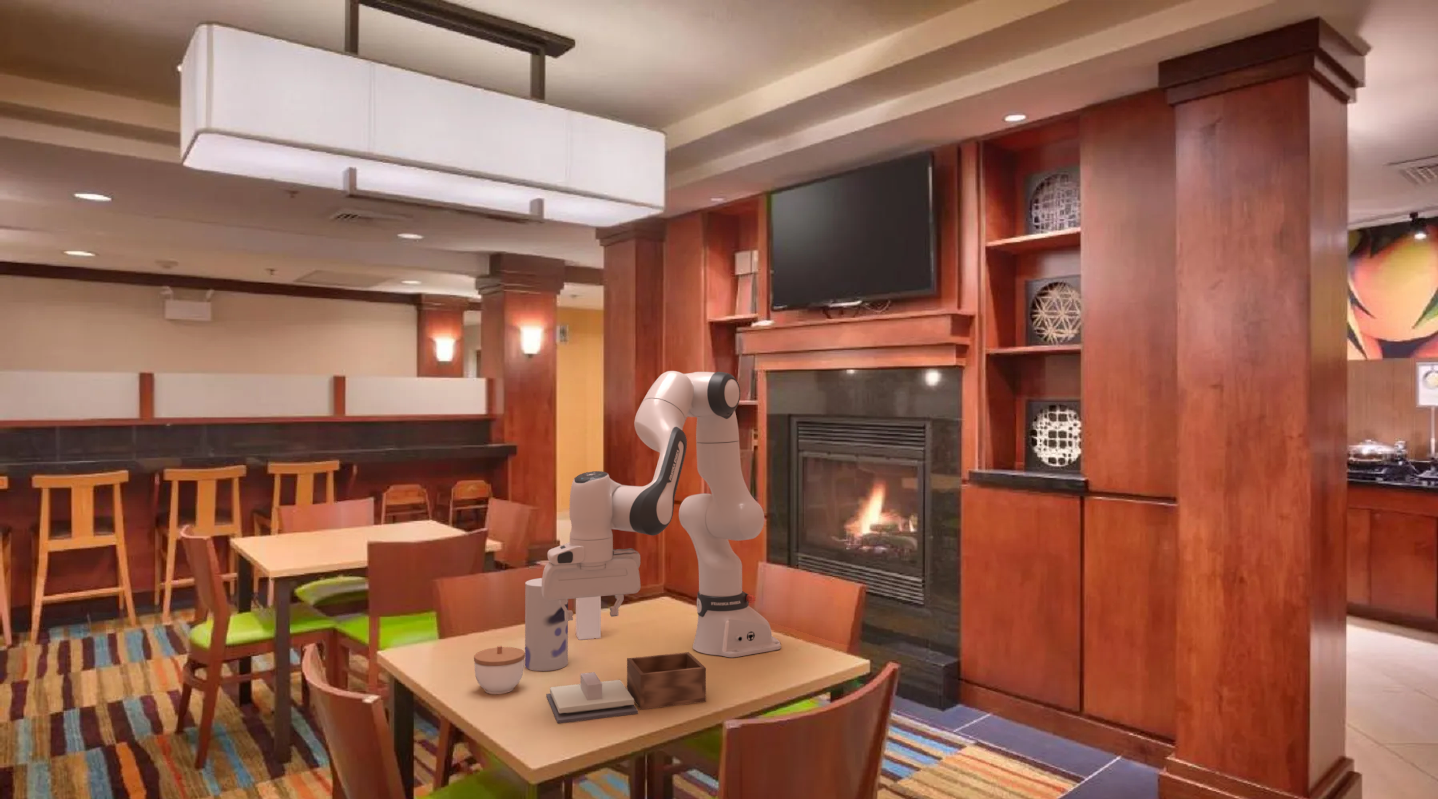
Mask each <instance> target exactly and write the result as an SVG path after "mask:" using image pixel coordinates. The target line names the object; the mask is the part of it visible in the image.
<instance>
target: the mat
mask: <svg viewBox="0 0 1438 799" xmlns="http://www.w3.org/2000/svg"><path fill="white" fill-rule="evenodd" d="M546 699H547V702H548V704H549V707H550V709H551V711H552V714H553V717H554V719H555V721H556V723H558V724H563V723H565V724H566V723H573V722H580V721H588V720H589V721H590V720H598V719H605V718H614V716H615V717H620V716H628V715H629V716H630V715H638V714H639V710H638V708H637V707H636V706H635V703H634V704H633V705H625V706H624V707H616V708H607V709H599V710H591V711H583V712H574V713H559V712H558V709H557V707H556V705H555V703H554V700H553V698H552V696H551V693H550V692H549V693H546Z"/></svg>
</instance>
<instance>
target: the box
mask: <svg viewBox="0 0 1438 799" xmlns="http://www.w3.org/2000/svg"><path fill="white" fill-rule="evenodd" d="M626 689H627V690H628V692H629V693H630V694H631V696H632V697H633V699H634V704H636V705H637V707H638V708H639V710H649V709H656V708H664V707H665V708H666V707H674V706H680V705H690V704H698V703H705V702H706V701H707V667H706V666H704V665H703V664H702V663H701V662H700V661H699V660H698V659H697V658H696V657H695V656H693V655H692V653H690V652H689V651H688V652H687V651H686V652H677V653H676V652H675V653H666V654H658V655H647V656H645V655H644V656H638V657H637V656H636V657H627V658H626Z"/></svg>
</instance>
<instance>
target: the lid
mask: <svg viewBox="0 0 1438 799" xmlns="http://www.w3.org/2000/svg"><path fill="white" fill-rule="evenodd" d="M579 676H580V678H579V679H580V683H578V684H569V685H559V686H558V685H557V686H551V687H550V686H549V694H550V693H551V696H552V698H553V700H554V703H555V705H556V707H557V709H558V712H559V713H574V712H583V711H591V710H599V709H607V708H616V707H624V706H625V705H633V704H634V705H635V701H634V699H633V697H632V696H631V694H630V693H629V692H628V690H627V686H625V684H624V683H623V682H622V681H621V679H614V680H605V681H601V680H600V678H599V676H598V675H597V674H596V672H595V671H592V672H583V673H582V672H581V673H580V674H579Z"/></svg>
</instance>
